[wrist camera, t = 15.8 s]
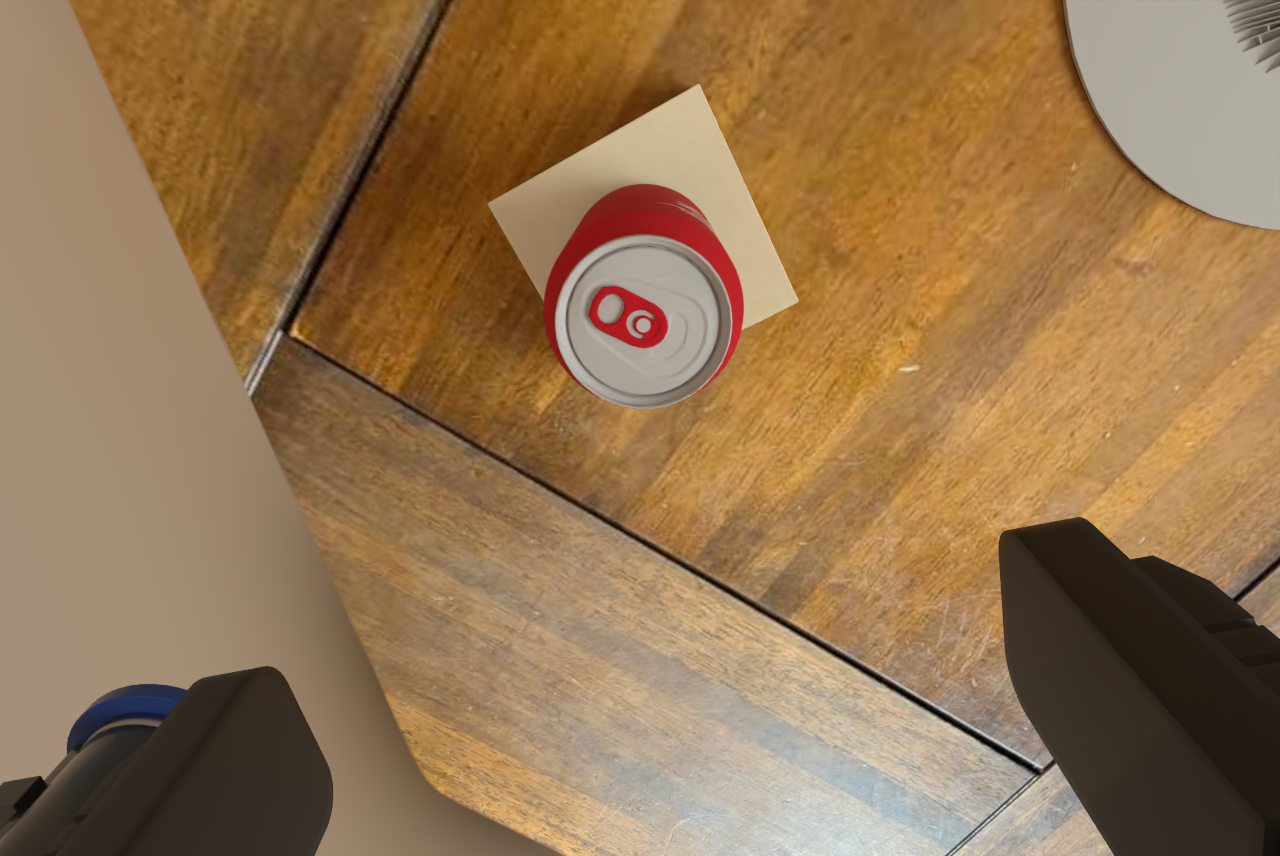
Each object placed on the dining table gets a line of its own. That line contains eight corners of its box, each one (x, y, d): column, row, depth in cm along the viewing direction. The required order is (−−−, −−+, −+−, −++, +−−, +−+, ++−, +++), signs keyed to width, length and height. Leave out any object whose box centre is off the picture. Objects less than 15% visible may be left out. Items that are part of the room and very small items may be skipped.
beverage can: (674, 350, 35) (686, 459, 24) (549, 288, 34) (501, 372, 23) (743, 224, 33) (790, 279, 22) (612, 154, 32) (593, 175, 21)
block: (606, 368, 41) (600, 400, 36) (506, 192, 38) (486, 203, 33) (781, 279, 39) (799, 302, 34) (692, 86, 36) (698, 82, 31)
